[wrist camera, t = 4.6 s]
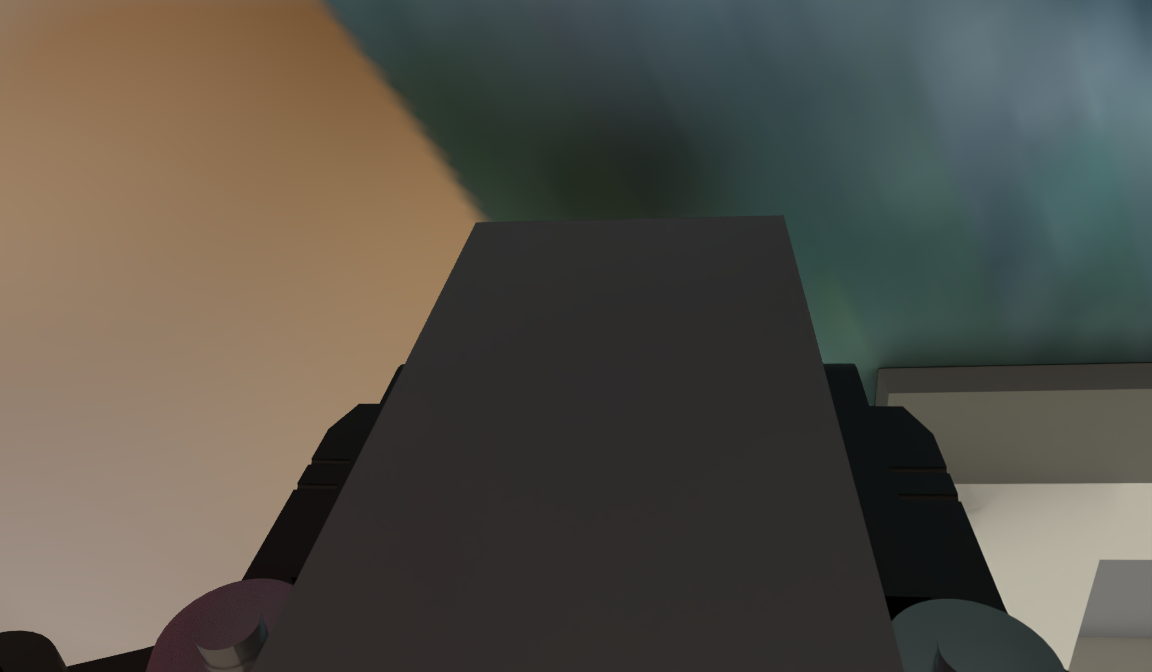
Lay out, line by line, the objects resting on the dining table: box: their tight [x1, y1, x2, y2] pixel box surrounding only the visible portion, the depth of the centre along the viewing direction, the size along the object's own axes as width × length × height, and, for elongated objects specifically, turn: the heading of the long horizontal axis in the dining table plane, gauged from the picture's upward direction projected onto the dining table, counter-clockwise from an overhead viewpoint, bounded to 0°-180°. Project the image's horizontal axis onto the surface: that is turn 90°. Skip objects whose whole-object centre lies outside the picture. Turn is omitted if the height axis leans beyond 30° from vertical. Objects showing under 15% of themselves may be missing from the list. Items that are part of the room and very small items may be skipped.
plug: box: [251, 215, 904, 672], centre depth 8 cm, size 4×4×9 cm
